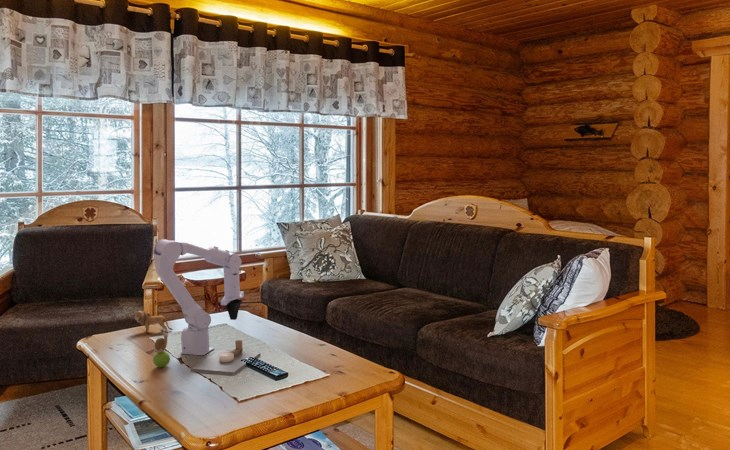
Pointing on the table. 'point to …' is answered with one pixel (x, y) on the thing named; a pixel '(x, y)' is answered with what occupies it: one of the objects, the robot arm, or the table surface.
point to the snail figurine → (161, 352)
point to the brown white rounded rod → (230, 356)
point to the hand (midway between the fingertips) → (233, 319)
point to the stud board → (223, 363)
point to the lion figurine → (151, 320)
